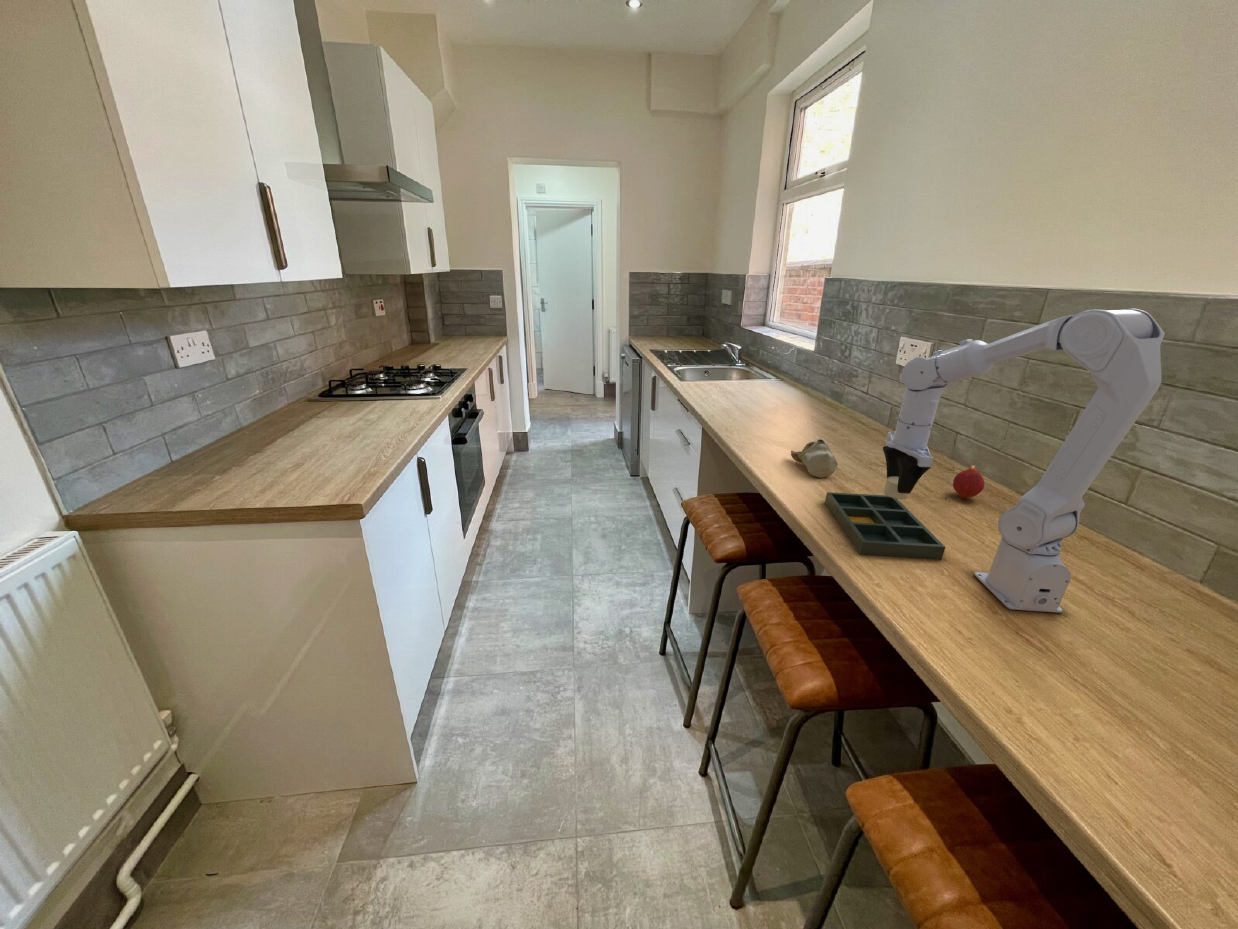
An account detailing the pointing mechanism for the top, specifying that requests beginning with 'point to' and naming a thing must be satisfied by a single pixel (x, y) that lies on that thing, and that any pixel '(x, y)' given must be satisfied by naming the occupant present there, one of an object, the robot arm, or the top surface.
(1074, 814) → the top surface
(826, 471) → the ceramic sculpture
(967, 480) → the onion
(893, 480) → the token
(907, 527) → the grid
